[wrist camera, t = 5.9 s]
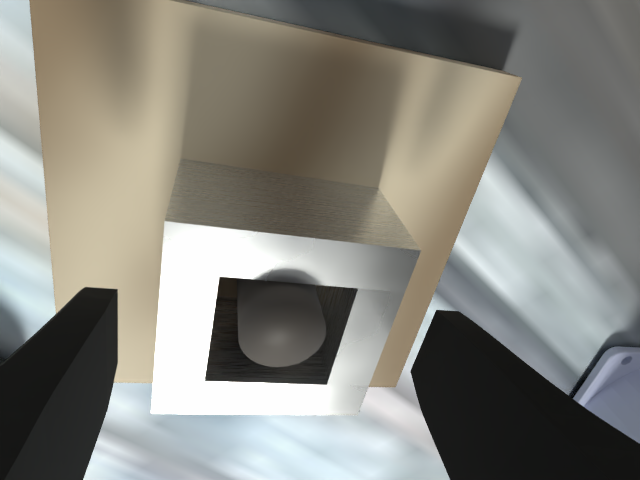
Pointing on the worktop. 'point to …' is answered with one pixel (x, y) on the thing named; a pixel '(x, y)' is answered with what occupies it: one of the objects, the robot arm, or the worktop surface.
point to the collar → (274, 265)
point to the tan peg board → (244, 151)
